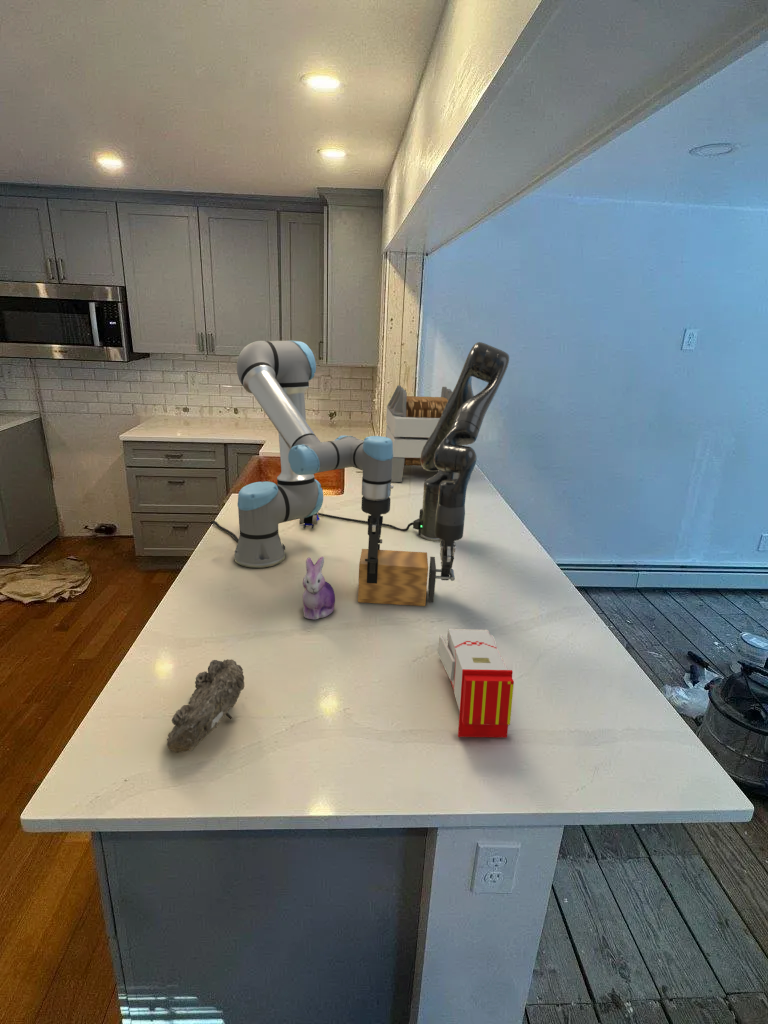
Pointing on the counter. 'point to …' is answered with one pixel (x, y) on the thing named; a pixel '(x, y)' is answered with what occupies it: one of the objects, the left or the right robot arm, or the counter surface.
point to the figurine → (317, 592)
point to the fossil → (206, 705)
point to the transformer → (412, 427)
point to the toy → (478, 682)
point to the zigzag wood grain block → (395, 578)
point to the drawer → (433, 576)
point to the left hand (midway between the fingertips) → (373, 573)
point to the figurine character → (309, 521)
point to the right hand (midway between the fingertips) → (444, 579)
